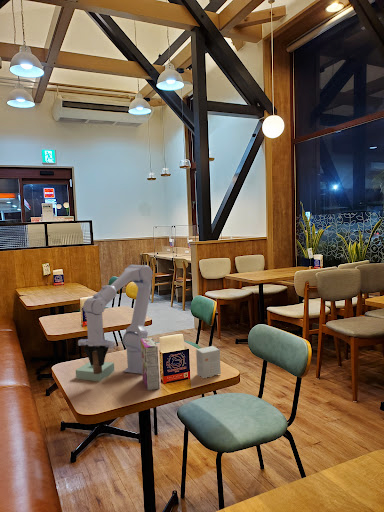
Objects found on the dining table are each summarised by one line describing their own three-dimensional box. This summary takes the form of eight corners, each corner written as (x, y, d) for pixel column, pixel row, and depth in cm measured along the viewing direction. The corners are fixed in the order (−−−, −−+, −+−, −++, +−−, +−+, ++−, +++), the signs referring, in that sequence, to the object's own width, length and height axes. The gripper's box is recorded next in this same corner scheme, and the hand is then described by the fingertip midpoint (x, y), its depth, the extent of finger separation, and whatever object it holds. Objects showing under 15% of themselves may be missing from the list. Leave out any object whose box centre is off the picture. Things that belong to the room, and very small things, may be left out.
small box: (214, 370, 155) (213, 345, 154) (221, 375, 150) (220, 349, 149) (196, 374, 151) (195, 348, 151) (203, 379, 146) (202, 352, 146)
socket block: (114, 370, 158) (113, 362, 158) (100, 381, 148) (99, 372, 148) (91, 368, 162) (91, 360, 161) (76, 378, 151) (75, 370, 151)
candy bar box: (141, 379, 148) (139, 338, 147) (154, 377, 150) (152, 337, 148) (146, 391, 138) (144, 347, 136) (160, 389, 139) (158, 345, 138)
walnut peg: (103, 371, 145) (102, 350, 144) (99, 374, 142) (97, 353, 141) (96, 370, 146) (95, 350, 145) (91, 373, 143) (90, 352, 142)
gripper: (72, 331, 141) (74, 367, 142) (106, 333, 136) (108, 370, 137) (83, 326, 147) (85, 360, 149) (116, 328, 143) (118, 363, 144)
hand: (97, 364), depth 143 cm, fingers closed on walnut peg, 3 cm apart
